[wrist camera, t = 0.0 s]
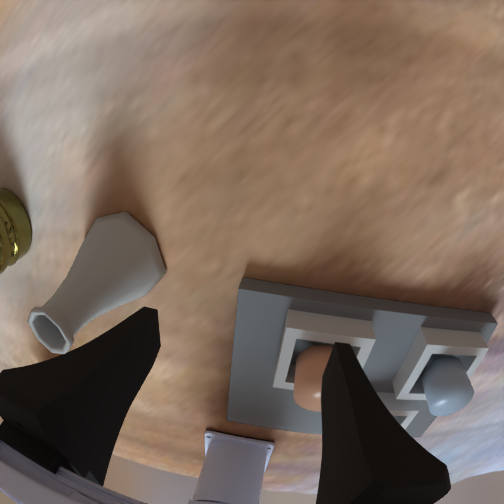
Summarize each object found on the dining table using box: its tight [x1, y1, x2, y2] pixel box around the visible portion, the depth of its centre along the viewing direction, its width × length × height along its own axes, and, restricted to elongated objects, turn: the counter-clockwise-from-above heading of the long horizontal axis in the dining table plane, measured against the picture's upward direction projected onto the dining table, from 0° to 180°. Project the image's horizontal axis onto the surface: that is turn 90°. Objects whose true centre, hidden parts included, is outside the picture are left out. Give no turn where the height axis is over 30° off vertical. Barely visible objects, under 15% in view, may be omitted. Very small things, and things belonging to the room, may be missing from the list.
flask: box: [27, 212, 166, 354], centre depth 19 cm, size 7×7×10 cm
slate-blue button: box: [421, 356, 474, 416], centre depth 19 cm, size 4×4×3 cm
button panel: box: [227, 277, 498, 437], centre depth 24 cm, size 16×21×4 cm
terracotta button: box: [293, 344, 333, 412], centre depth 20 cm, size 4×4×3 cm
